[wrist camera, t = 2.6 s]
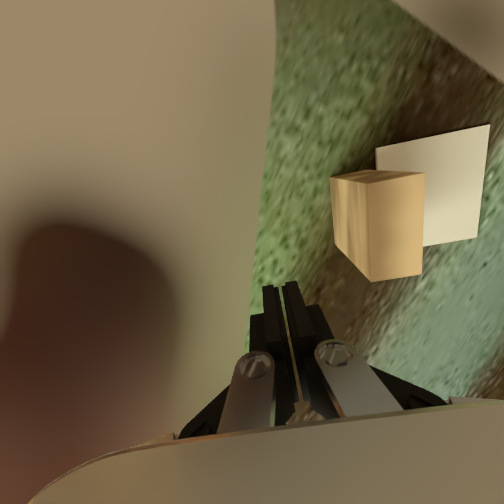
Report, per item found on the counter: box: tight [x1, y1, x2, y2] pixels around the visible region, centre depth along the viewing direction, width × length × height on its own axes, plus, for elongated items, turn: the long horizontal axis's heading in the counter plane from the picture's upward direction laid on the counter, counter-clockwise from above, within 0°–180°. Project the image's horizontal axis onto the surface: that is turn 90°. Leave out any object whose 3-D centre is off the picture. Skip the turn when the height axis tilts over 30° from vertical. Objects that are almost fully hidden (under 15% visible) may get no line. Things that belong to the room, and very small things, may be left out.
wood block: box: [329, 170, 426, 282], centre depth 23 cm, size 4×8×10 cm, turn 11°
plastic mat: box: [375, 124, 490, 246], centre depth 27 cm, size 11×12×1 cm
